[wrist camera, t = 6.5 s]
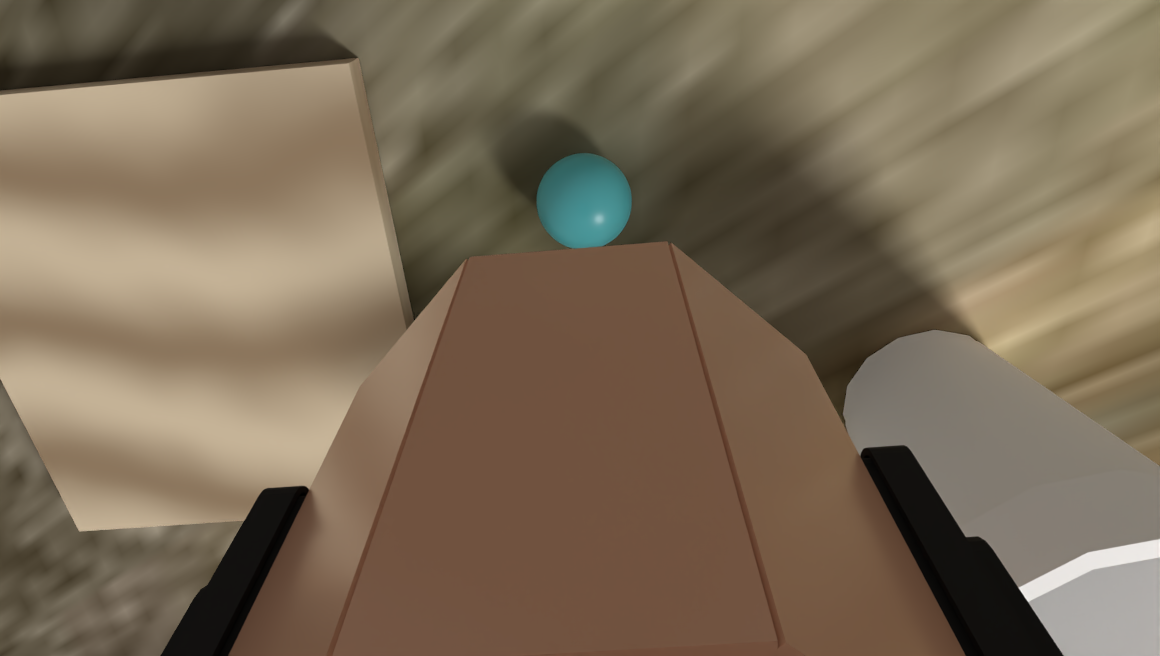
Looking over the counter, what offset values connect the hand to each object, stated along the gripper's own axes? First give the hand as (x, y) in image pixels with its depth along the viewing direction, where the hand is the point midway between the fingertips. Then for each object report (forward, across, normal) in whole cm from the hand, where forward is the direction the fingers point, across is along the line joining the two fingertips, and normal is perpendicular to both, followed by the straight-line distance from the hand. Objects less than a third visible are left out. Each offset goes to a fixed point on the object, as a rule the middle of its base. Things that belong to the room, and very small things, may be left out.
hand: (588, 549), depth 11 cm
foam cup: (+18, -13, +10) cm, 24 cm away
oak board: (+18, +15, +4) cm, 24 cm away
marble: (+16, 0, 0) cm, 16 cm away
